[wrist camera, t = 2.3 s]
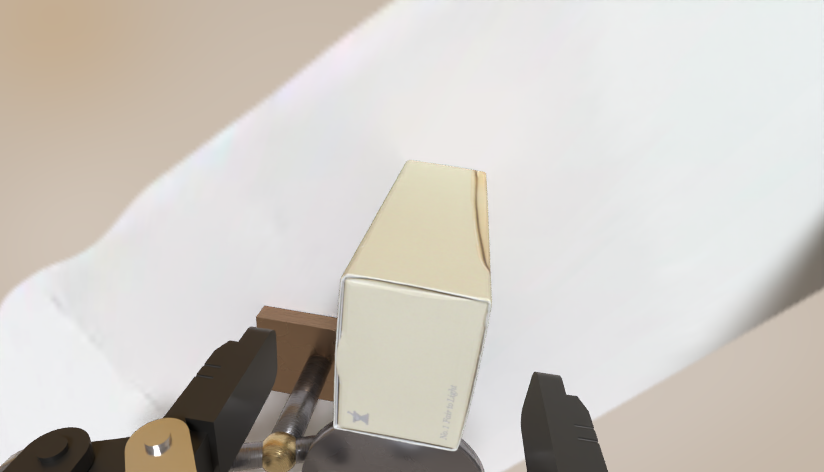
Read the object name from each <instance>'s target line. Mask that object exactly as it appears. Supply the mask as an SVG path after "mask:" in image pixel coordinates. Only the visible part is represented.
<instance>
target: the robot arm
mask: <svg viewBox="0 0 824 472" xmlns="http://www.w3.org/2000/svg"><path fill="white" fill-rule="evenodd" d="M276 375H277V342H276V332H275V330H270V329H263V328H257V327H249V328H248V329H247V331H246V332H245V333H244V335H243V336H242V338H241V339H240V340H239V342H236V341H228V342H227V343H225V344H224V345H222V346H221V347H219V348H218V349H216V350H215V351H214V352H213V353H212V355H211V356H210V357H209V359H208V360H207V361H206V363H205V365H204V366H203V367H202V368H201V369H200V370H199V372H198V373H197V376H196V377H194V378H193V380H192V381H191V382H190V384H189V385H188V386H187V388H186V389H185V390H184V391H183V393H182V394H181V395H180V397H179V398H178V399H177V401H176V402H175V403H174V405H173V406H172V407H171V408H170V410H169V411H168V412H167V414H166V415H165V416H164V417H163V418H162V419H157V420H154V421H151V422H149V423H147V424H145V425H144V426H142V427H140V428H139V429H138V430H137V431H135V432H134V433H133V434H132V436H131V437H126V438H120V439H111V440H103V441H94V442H91V441H90V437H89V435H88V433H87V432H86V431H84V430H82V429H80V428H73V427H69V428H62V429H57V430H54V431H51V432H49V433H46V434H44V435H42V436H40V437H39V438H37V439H36V440H34V441H33V442H31V443H30V444H29V445H28V446H27V447H26V448H25V449H24V450H23V451H22V452H21V453H20V454H19V455H18V456H17V457H16V458H15V459H14V460H13V461H12V462H11V463H10V464H9V465H8V466H7V467H6V468H5V469H4V470H3V471H2V472H229V470H230V468H231V466H232V464H233V462H234V460H235V458H236V456H237V454H238V453H239V451H240V449H241V447H242V445H243V443H244V441H245V439H246V437H247V435H248V434H249V432H250V430H251V428H252V426H253V424H254V422H255V420H256V418H257V416H258V415H259V413H260V411H261V409H262V407H263V405H264V403H265V401H266V399H267V397H268V395H269V394H270V392H271V390H272V388H273V385H274V383H275V379H276ZM593 428H594V427H593V424H592V420H591V417H590V414H589V411H588V410H587V409H586V407H585V406H584V405H583V403H582V402H581V401H580V400H579V398H578V397H577V396H572V395H566V392H565V389H564V385H563V381H562V378H561V377H560V376H559V375H553V374H546V373H540V372H534V373H533V375H532V378H531V381H530V385H529V388H528V391H527V395H526V398H525V401H524V405H523V408H522V414H521V431H522V438H523V446H524V453H525V460H526V466H527V472H608V470H607V467H606V464H605V461H604V458H603V455H602V452H601V448H600V445H599V444H598V439H597V436H596V433H595V431H594V429H593Z"/></svg>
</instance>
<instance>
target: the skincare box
mask: <svg viewBox="0 0 824 472" xmlns="http://www.w3.org/2000/svg"><path fill="white" fill-rule="evenodd" d="M491 306H492V297H491V275H490V250H489V225H488V200H487V182H486V173H485V172H481V171H476V170H470V169H464V168H459V167H453V166H446V165H440V164H434V163H427V162H420V161H414V160H408V161H407V162H406V163H405V165H404V167H403V169H402V170H401V172H400V174H399V176H398V177H397V179H396V181H395V183H394V185H393V186H392V188H391V190H390V192H389V193H388V195H387V197H386V199H385V200H384V202H383V204H382V206H381V208H380V209H379V211H378V213H377V215H376V217H375V218H374V220H373V222H372V224H371V226H370V227H369V229H368V231H367V233H366V234H365V236H364V238H363V240H362V241H361V243H360V245H359V247H358V248H357V250H356V252H355V254H354V256H353V258H352V259H351V261H350V263H349V264H348V266H347V268H346V270H345V272H344V273H343V275H342V277H341V281H340V290H339V302H338V317H337V330H336V345H335V372H334V409H333V410H334V417H333V427H334V428H335V429H339V430H345V431H351V432H355V433H360V434H364V435H370V436H375V437H380V438H385V439H390V440H395V441H400V442H405V443H409V444H415V445H421V446H427V447H432V448H437V449H443V450H448V451H456V450H457V449H458V447H459V444H460V441H461V438H462V434H463V431H464V428H465V424H466V420H467V417H468V413H469V409H470V405H471V401H472V397H473V393H474V389H475V384H476V380H477V375H478V371H479V366H480V362H481V357H482V352H483V348H484V343H485V338H486V333H487V328H488V323H489V317H490V312H491Z"/></svg>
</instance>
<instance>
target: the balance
mask: <svg viewBox="0 0 824 472" xmlns="http://www.w3.org/2000/svg"><path fill="white" fill-rule="evenodd" d="M256 322H257V328H263V329H270V330H275V332H276V342H277V375H276V379H275V383H274V385H273V388H272V390H273V391H278V392H284V393H290V396H289V398H288V400H287V403H286V405H285V407H284V409H283V411H282V413H281V415H280V417H279V419H278V421H277V423H276V425H275V427H274V429H273V431H272V433H271V435H269V436H268V437H267V438H266V439H265V440H264V441H262V442H254V443H245V444H243V445H242V447H241V449H240V451H239V453H238V454H237V456H236V458H235V460H234V462H233V464H232V466H231V468H230V470H229V472H233V471H241V470H248V469H256V468H263V469H264V470H265V471H267V472H288V471H289V470H290V469H292V468H293V466H294V465H295V464H296V463H303V462H304V464H303V469H302V472H484V468H483V466H482V463H481V461H480V459H479V458H478V456H477V455H476V453H475V452H474V451H473V449H472V448H471V447H470V446H469V445H468V444H467V443H466V442H465V441H464V440H463V439H462V438H461V441H460V444H459V447H458V449H457V450H456V451H448V450H443V449H437V448H432V447H427V446H421V445H415V444H409V443H405V442H400V441H395V440H390V439H385V438H380V437H375V436H370V435H364V434H360V433H355V432H351V431H345V430H339V429H335V428H334V427H333V422H331V423H330V424H328V425H326V426H325V427H324V428H323V429H322V430H321V431H320V432H319V433H318V434H317V435H315V436H306V437H303V435H304V433H305V431H306V428H307V426H308V423H309V421H310V418H311V416H312V413H313V411H314V409H315V406H316V404H317V401H318V399H323V400H328V401H334V372H335V345H336V330H337V318H334V317H328V316H322V315H316V314H310V313H304V312H299V311H293V310H287V309H281V308H275V307H269V306H264V307H263V308H262V310H261V311H260V313H259V314H258V315H257V317H256ZM22 451H23V450H21V451H19V452H17V453H15V454H14V455H12V456H11V457H10V458H9V459H8V460H7V461H5V462H4V463H3V464H2V465H1V466H0V472H2V471H3V470H4V469H5V468H6V467H7V466H8V465H9V464H10V463H11V462H12V461H13V460H14V459H15V458H16V457H17V456H18V455H19V454H20V453H21V452H22Z"/></svg>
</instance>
